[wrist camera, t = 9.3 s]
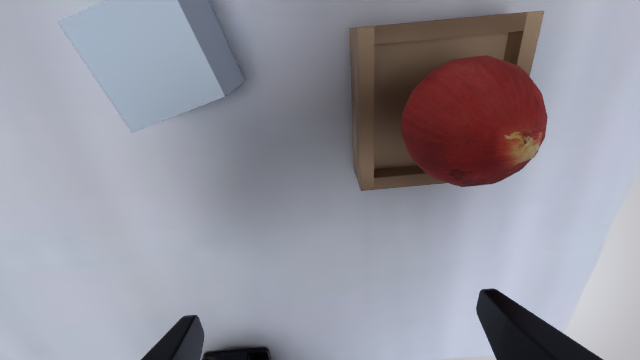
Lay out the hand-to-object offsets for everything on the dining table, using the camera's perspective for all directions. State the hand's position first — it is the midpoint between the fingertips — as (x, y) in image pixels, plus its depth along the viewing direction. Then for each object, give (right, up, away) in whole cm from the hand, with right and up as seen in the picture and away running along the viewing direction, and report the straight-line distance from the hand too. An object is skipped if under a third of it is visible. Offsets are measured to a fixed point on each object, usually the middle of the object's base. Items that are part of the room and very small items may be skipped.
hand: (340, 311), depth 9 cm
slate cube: (-8, +12, +8) cm, 16 cm away
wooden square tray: (+6, +10, +10) cm, 15 cm away
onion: (+6, +9, +8) cm, 13 cm away
